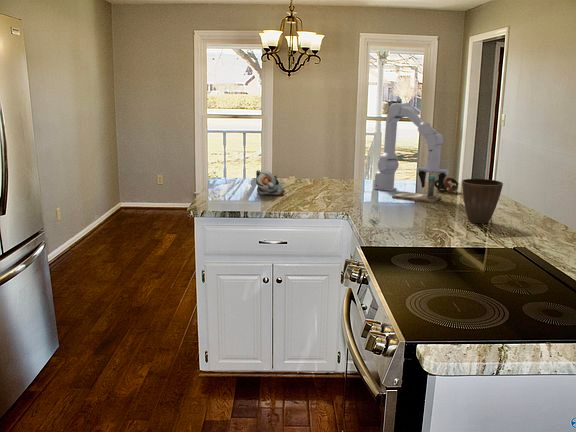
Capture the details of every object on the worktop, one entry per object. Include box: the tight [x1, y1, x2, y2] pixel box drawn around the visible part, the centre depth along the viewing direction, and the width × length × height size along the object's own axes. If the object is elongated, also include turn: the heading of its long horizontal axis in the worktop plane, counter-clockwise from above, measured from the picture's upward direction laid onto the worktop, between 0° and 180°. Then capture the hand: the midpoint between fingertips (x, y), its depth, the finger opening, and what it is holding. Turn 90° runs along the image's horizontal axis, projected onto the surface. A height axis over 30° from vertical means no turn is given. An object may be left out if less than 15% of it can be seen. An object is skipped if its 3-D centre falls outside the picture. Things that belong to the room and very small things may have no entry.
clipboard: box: [392, 191, 442, 204], centre depth 256 cm, size 19×14×1 cm
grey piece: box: [255, 169, 286, 196], centre depth 255 cm, size 15×12×14 cm
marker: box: [427, 175, 436, 196], centre depth 255 cm, size 3×3×9 cm
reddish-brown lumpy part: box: [434, 176, 459, 194], centre depth 274 cm, size 12×10×8 cm
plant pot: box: [461, 178, 504, 224], centre depth 210 cm, size 15×15×16 cm
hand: (431, 188), depth 255 cm, fingers open, 7 cm apart
